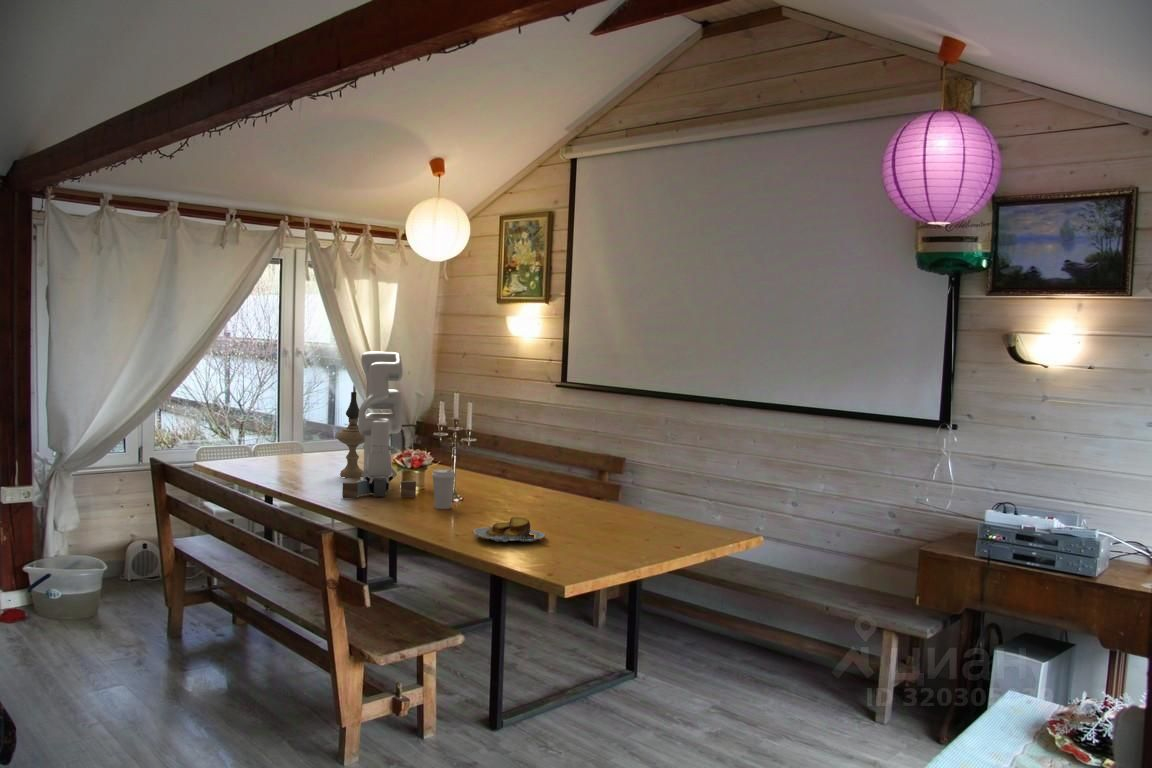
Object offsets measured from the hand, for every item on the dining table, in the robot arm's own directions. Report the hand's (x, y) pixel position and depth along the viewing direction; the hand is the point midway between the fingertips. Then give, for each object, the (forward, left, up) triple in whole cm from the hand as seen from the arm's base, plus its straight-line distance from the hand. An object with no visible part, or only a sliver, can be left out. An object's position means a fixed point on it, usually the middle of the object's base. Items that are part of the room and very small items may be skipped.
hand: (378, 491), depth 367 cm
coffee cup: (+26, +23, -2) cm, 35 cm away
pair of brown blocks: (+3, 0, -2) cm, 4 cm away
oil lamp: (-47, -8, -2) cm, 47 cm away
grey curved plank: (-5, -3, -1) cm, 5 cm away
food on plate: (+80, +37, -2) cm, 88 cm away
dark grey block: (0, 0, -1) cm, 1 cm away
